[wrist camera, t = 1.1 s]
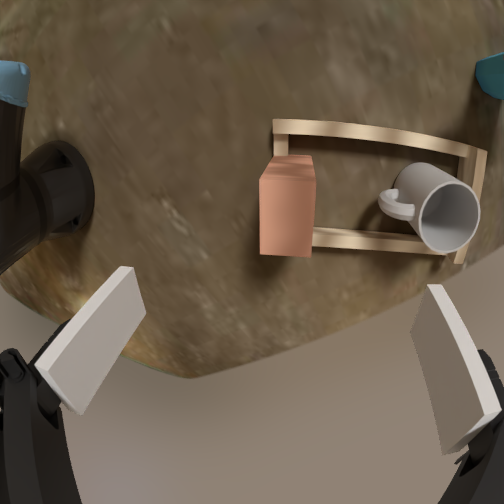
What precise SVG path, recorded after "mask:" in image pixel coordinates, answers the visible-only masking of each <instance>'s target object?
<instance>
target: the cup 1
mask: <svg viewBox="0 0 504 504" xmlns="http://www.w3.org/2000/svg"><path fill="white" fill-rule="evenodd" d="M378 204H379V206H380V208H381V210H382V211H383V212H384V213H385V214H387V215H389V216H391V217H393V218H396V219H400V220H406V221H408V222H409V224H410V225H411V226H412V227H413V229H414V230H415V231H416V233H417V234H418V235H419V236H420V238H421V239H422V240H423V242H424V243H425V244H426V245H427V246H428V247H429V248H430V249H431V250H433V251H436V252H438V253H451V252H455V251H457V250H459V249H461V248H462V247H463V246H465V245H466V244H467V243H468V242H469V241H470V239H471V238H472V237H473V236H474V234H475V232H476V230H477V227H478V224H479V220H480V205H479V200H478V198H477V196H476V194H475V192H474V191H473V190H472V189H471V187H470V186H468V185H466V184H465V183H463V182H461V181H460V180H458V179H456V178H454V177H453V176H451V175H449V174H447V173H446V172H444V171H442V170H440V169H438V168H436V167H435V166H433V165H431V164H428V163H423V162H418V163H413V164H411V165H408V166H407V167H406V168H404V169H403V170H402V171H401V172H400V174H399V175H398V177H397V179H396V181H395V184H394V189H389V190H385V191H383V192H381V193H380V195H379V197H378Z"/></svg>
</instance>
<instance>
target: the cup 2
mask: <svg viewBox="0 0 504 504" xmlns="http://www.w3.org/2000/svg"><path fill="white" fill-rule="evenodd" d="M475 76H476V78H477V80H478V82H479V84H480V86H481V88H482V91H484V92H485V93H487V94H489V95H490V96H492V97H494V98H497V99H502V100H504V52H503V53H499V54H496V55H493V56H490V57H487V58H484V59H482V60H480V61H478V62H477V63H476V74H475Z"/></svg>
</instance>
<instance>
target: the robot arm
mask: <svg viewBox="0 0 504 504" xmlns="http://www.w3.org/2000/svg"><path fill="white" fill-rule="evenodd" d="M29 83H30V70H29V68H28V66H27V65H26V64H24V63H21V62H13V61H0V275H1V274H2V273H3V272H4V271H5V270H7V269H8V268H9V267H10V266H11V265H13V264H14V263H15V262H16V261H18V260H19V259H20V258H21V257H23V256H24V255H25V254H26V253H28V252H29V251H30V250H31V249H33V248H34V247H35V246H37V245H38V244H39V243H41V242H42V241H46V240H51V239H55V238H60V237H65V236H69V235H71V234H73V233H75V232H76V231H78V230H79V229H80V228H82V227H83V226H84V225H85V224H86V223H87V222H88V220H89V218H90V216H91V213H92V210H93V205H94V187H93V181H92V177H91V174H90V171H89V168H88V166H87V164H86V162H85V160H84V158H83V157H82V155H81V154H80V153H79V152H78V151H77V150H76V149H75V148H74V147H73V146H72V145H70V144H68V143H66V142H63V141H53V142H50V143H47V144H44V145H41V146H40V147H38V148H37V149H35V150H34V151H33V152H32V153H31V154H30V155H28V156H27V157H26V158H25V159H24V160H23V161H22V162H21V163H20V157H21V143H22V133H23V124H24V117H25V110H26V107H27V106H28V102H27V96H28V89H29ZM145 315H146V311H145V308H144V304H143V301H142V297H141V294H140V290H139V287H138V283H137V279H136V276H135V272H134V268H133V267H124V266H120V267H119V268H118V269H117V270H116V271H115V272H114V273H113V274H112V275H111V276H110V277H109V278H108V280H107V281H106V282H105V283H104V284H103V285H102V286H101V287H100V288H99V289H98V290H97V291H96V292H95V293H94V295H93V296H92V297H91V298H90V299H89V300H88V301H87V302H86V303H85V304H84V306H83V307H82V308H81V309H80V310H79V311H78V312H77V314H76V315H75V316H74V317H73V318H72V319H69V320H67V321H66V322H64V323H63V324H61V325H60V326H59V327H58V329H57V330H56V331H55V332H54V335H52V336H51V337H50V338H49V339H48V342H46V343H45V344H44V345H43V346H42V348H41V349H40V350H39V352H38V353H37V354H36V355H35V356H34V358H33V359H32V360H31V361H30V363H29V364H28V365H27V364H26V362H25V360H24V359H23V357H22V356H21V355H20V353H19V352H18V350H17V349H14V348H10V349H7V350H5V351H3V352H2V353H1V354H0V408H1V412H0V504H82V502H81V499H80V495H79V492H78V489H77V485H76V481H75V478H74V474H73V470H72V466H71V461H70V458H69V452H68V447H67V443H66V436H65V431H64V424H63V418H62V411H61V408H60V407H59V405H60V403H61V402H62V403H63V404H64V405H65V406H66V407H67V409H68V410H70V411H72V412H74V413H76V414H78V415H81V416H82V415H83V413H84V412H85V410H86V408H87V407H88V404H89V403H90V402H91V400H92V398H93V397H94V395H95V393H96V392H97V390H98V388H99V387H100V385H101V383H102V381H103V380H104V378H105V377H106V375H107V373H108V372H109V370H110V369H111V367H112V365H113V364H114V362H115V360H116V359H117V357H118V356H119V354H120V353H121V351H122V350H123V348H124V346H125V345H126V343H127V342H128V340H129V339H130V337H131V336H132V334H133V333H134V331H135V330H136V328H137V327H138V325H139V324H140V322H141V320H142V319H143V317H144V316H145ZM410 333H411V336H412V339H413V342H414V345H415V348H416V351H417V354H418V357H419V361H420V364H421V367H422V370H423V374H424V377H425V381H426V384H427V388H428V391H429V395H430V400H431V404H432V407H433V412H434V416H435V420H436V425H437V430H438V434H439V440H440V445H441V450H442V455H446V454H450V453H454V452H458V451H460V450H461V449H462V448H463V447H464V446H466V445H467V444H468V447H469V450H468V451H467V452H466V453H465V454H464V455H462V456H461V457H460V458H459V459H457V461H456V462H455V463H454V464H458V463H459V462H460V461H462V462H461V464H460V466H459V468H458V470H457V472H456V473H455V475H454V477H453V479H452V481H451V483H450V485H449V486H448V488H447V490H446V491H445V493H444V495H443V496H442V498H441V500H440V501H439V502H438V504H504V387H503V384H502V382H501V380H500V379H499V375H498V373H497V371H495V366H494V364H493V362H492V360H491V358H490V357H489V356H488V355H487V354H486V352H485V351H483V349H482V350H477V349H476V347H475V345H474V343H473V341H472V339H471V337H470V335H469V333H468V331H467V329H466V327H465V325H464V323H463V321H462V320H461V318H460V316H459V314H458V312H457V311H456V309H455V307H454V305H453V303H452V302H451V300H450V298H449V297H448V295H447V293H446V291H445V290H444V288H443V287H442V285H432V284H427V287H426V290H425V293H424V296H423V299H422V301H421V305H420V307H419V310H418V313H417V315H416V318H415V321H414V323H413V326H412V328H411V331H410Z"/></svg>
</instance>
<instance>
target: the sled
mask: <svg viewBox="0 0 504 504" xmlns="http://www.w3.org/2000/svg"><path fill="white" fill-rule="evenodd" d="M273 134H274V156H273V158H272V159H271V161H270V163H269V164H268V166H267V168H266V169H265V171H264V173H263V174H262V176H261V178H260V179H259V185H260V254H265V255H281V256H297V257H311V251H312V246H320V247H336V248H351V249H366V250H380V251H395V252H409V253H422V254H436V255H447V256H448V257H449V258H450V259H451V261H452V262H453V263H456V264H463V261H464V258H465V255H466V252H467V248H468V245H469V242H468V243H467V244H466V245H465V246H463V247H462V248H461V249H459V250H457V251H455V252H451V253H438V252H436V251H433V250H431V249H430V248H429V247H428V246H427V245H426V244H425V243H424V242H423V240H422V239H421V238H420V236H419V235H410V234H399V233H387V232H374V231H362V230H348V229H334V228H319V227H313V226H314V212H315V196H316V178H315V173H314V168H313V163H312V158H311V156H307V155H288V134H303V135H320V136H333V137H345V138H355V139H364V140H372V141H380V142H387V143H394V144H401V145H407V146H413V147H419V148H424V149H429V150H434V151H439V152H444V153H449V154H453V155H457V156H460V157H459V165H458V172H457V179H458V180H460V181H461V182H463V183H465V184H466V185H468V186H470V187H471V189H472V190H473V191H474V192H475V194H476V196H477V198H478V200H480V195H481V190H482V185H483V179H484V173H485V166H486V158H487V151H485V150H483V149H480V148H477V147H474V146H471V145H467V144H464V143H460V142H456V141H452V140H448V139H443V138H439V137H434V136H430V135H425V134H420V133H414V132H409V131H403V130H397V129H391V128H384V127H377V126H370V125H362V124H353V123H343V122H331V121H317V120H298V119H273Z"/></svg>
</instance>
